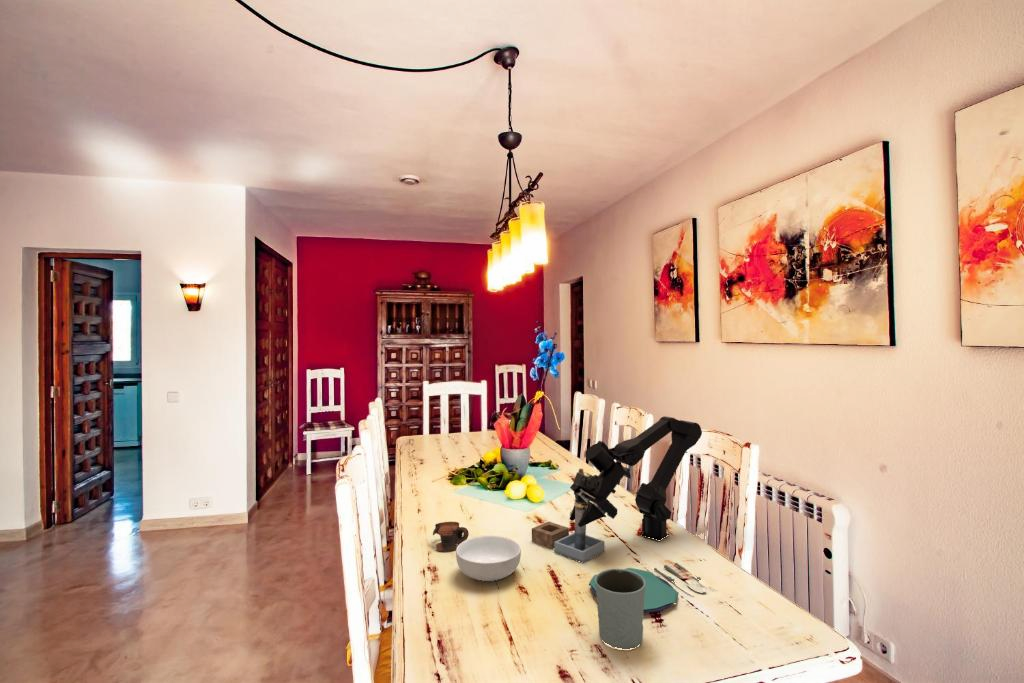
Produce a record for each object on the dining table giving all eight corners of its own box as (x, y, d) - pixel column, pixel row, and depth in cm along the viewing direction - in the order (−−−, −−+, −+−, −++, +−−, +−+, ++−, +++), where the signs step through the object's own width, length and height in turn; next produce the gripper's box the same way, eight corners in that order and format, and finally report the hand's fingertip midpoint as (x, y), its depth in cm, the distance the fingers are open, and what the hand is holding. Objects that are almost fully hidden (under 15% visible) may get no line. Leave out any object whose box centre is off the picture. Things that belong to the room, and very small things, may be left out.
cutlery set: (575, 584, 122) (575, 574, 122) (673, 564, 133) (673, 556, 133) (620, 628, 104) (620, 617, 104) (729, 601, 114) (729, 591, 114)
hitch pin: (588, 548, 141) (589, 503, 142) (583, 553, 138) (584, 506, 138) (576, 546, 143) (577, 501, 144) (571, 550, 140) (572, 504, 140)
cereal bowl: (462, 595, 117) (461, 566, 117) (451, 565, 134) (451, 539, 134) (529, 585, 122) (529, 556, 122) (511, 557, 138) (511, 532, 138)
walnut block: (569, 541, 148) (568, 527, 148) (551, 549, 143) (551, 535, 143) (549, 534, 154) (548, 521, 154) (531, 541, 148) (531, 528, 148)
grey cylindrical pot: (638, 623, 105) (637, 567, 105) (653, 653, 95) (652, 591, 95) (591, 625, 104) (590, 569, 104) (601, 655, 94) (600, 593, 94)
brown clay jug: (426, 553, 143) (426, 523, 147) (442, 556, 150) (442, 527, 154) (462, 547, 139) (461, 517, 143) (477, 550, 147) (476, 521, 151)
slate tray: (604, 551, 140) (604, 541, 140) (583, 563, 133) (583, 552, 133) (576, 541, 148) (576, 531, 148) (554, 552, 140) (554, 542, 140)
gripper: (575, 455, 151) (543, 496, 147) (607, 470, 133) (571, 516, 129) (598, 478, 153) (567, 518, 149) (632, 495, 136) (598, 541, 132)
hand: (574, 523), depth 140 cm, fingers open, 5 cm apart
